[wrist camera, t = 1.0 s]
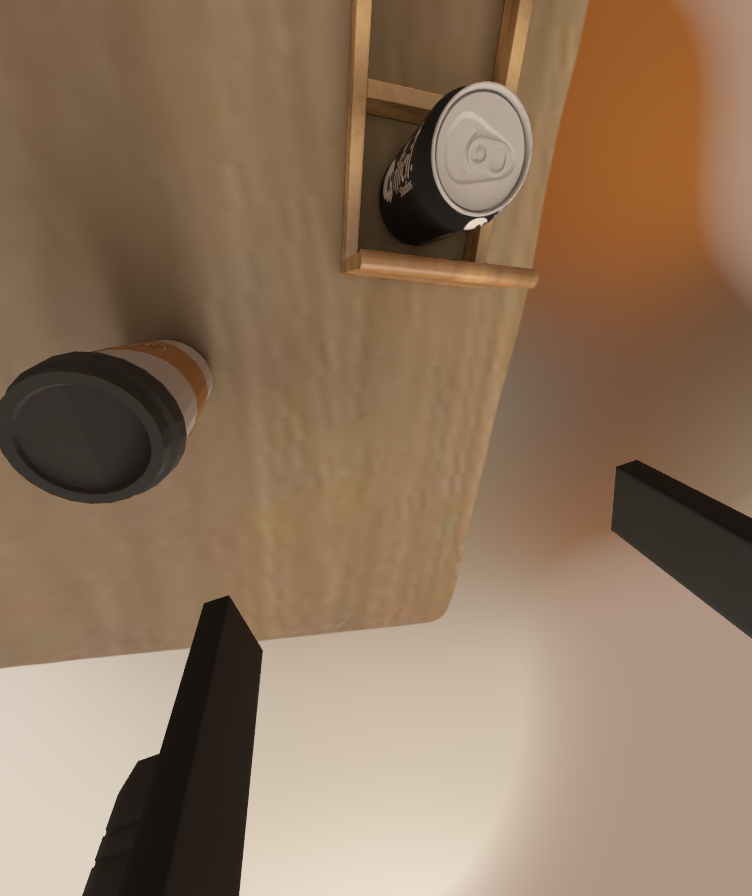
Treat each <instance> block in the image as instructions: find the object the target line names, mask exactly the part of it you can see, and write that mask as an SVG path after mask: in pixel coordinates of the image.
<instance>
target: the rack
mask: <svg viewBox="0 0 752 896" xmlns="http://www.w3.org/2000/svg"><path fill="white" fill-rule="evenodd" d="M533 1H534V0H505V5H504V12H503V18H502V24H501V30H500V36H499V43H498V49H497V55H496V61H495V67H494V73H493V80H492V82H496V83H499V84H502V85H504V86H505V87H507V88H508V89H510V90H511V91H512V92H513V93H514V94H515V95H516V93H517V88H518V82H519V77H520V72H521V66H522V61H523V55H524V50H525V44H526V39H527V34H528V28H529V23H530V17H531V12H532V6H533ZM371 13H372V0H352V24H351V49H350V73H349V97H348V122H347V146H346V171H345V195H344V219H343V244H342V268H341V274H344V275H354V276H363V277H373V278H383V279H393V280H402V281H412V282H422V283H432V284H441V285H451V286H461V287H517V288H526V289H532V288H534V287H535V286H536V284H537V282H538V279H539V272H538V271H537V270H535V269H527V268H519V267H510V266H502V265H494V264H485V262H486V256H487V251H488V245H489V240H490V234H491V229H492V224H493V220H492V221H490V222H489V223H487V224H485V225H483V226H480V227H477V228H474V229H471V230H468V234H467V240H466V246H465V253H464V259H463V261H460V260H452V259H443V258H435V257H427V256H418V255H410V254H402V253H393V252H385V251H377V250H368V249H360V251H359V252H358V243H359V225H360V207H361V190H362V172H363V154H364V137H365V119H366V113H367V114H372V115H377V116H382V117H387V118H391V119H396V120H401V121H406V122H411V123H416V124H421V123H422V122H423V120H424V119H425V118H426V116H427V115H428V114H429V112H430V111H431V110H432V108H433V107H434V106H435V105H436V103H437V102H438V101H439V100H440V99H441V98H443V97H444V96H445V95H441V94H437V93H433V92H428V91H424V90H419V89H415V88H411V87H406V86H402V85H397V84H393V83H388V82H384V81H380V80H375V79H371V78H368V66H369V49H370V31H371Z"/></svg>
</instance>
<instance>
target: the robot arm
mask: <svg viewBox="0 0 752 896" xmlns="http://www.w3.org/2000/svg"><path fill="white" fill-rule="evenodd" d="M611 530H612V531H613V532H615V533H616V534H617V535H619V536H620V537H621V538H623V539H624V540H625V541H626V542H628V543H629V544H630V545H632V546H633V547H634V548H635V549H637V550H638V551H639V552H640V553H642V554H643V555H644V556H646V557H647V558H648V559H650V560H651V561H652V562H654V563H655V564H656V565H657V566H659V567H660V568H661V569H663V570H664V571H665V572H666V573H668V574H669V575H670V576H672V577H673V578H674V579H676V580H677V581H678V582H679V583H681V584H682V585H683V586H684V587H686V588H687V589H689V590H690V591H691V592H692V593H693V594H695V595H696V596H697V597H699V598H700V599H701V600H703V601H704V602H705V603H706V604H708V605H709V606H710V607H712V608H713V609H714V610H715V611H717V612H718V613H719V614H721V615H722V616H724V617H725V618H726V619H727V620H728V621H730V622H731V623H732V624H734V625H735V626H736V627H737V628H739V629H740V630H741V631H743V632H744V633H745V634H747V635H748V636H749V637H750V638H752V518H750V517H748V516H746V515H744V514H742V513H740V512H738V511H736V510H734V509H732V508H731V507H729V506H727V505H725V504H723V503H721V502H719V501H717V500H715V499H713V498H711V497H709V496H707V495H705V494H703V493H701V492H699V491H697V490H695V489H693V488H691V487H689V486H687V485H685V484H683V483H681V482H679V481H677V480H675V479H673V478H671V477H670V476H668V475H666V474H663V473H662V472H660V471H658V470H656V469H654V468H652V467H650V466H648V465H646V464H644V463H642V462H640V461H638V460H635V461H632V462H630V463H626V464H624V465H620V466H617V467H616V477H615V489H614V502H613V514H612V527H611ZM262 652H263V650H262V649H261V647H260V645H259V644H258V642H257V640H256V639H255V637H254V635H253V634H252V632H251V631H250V629H249V627H248V626H247V624H246V622H245V621H244V619H243V617H242V616H241V614H240V612H239V611H238V609H237V608H236V606H235V604H234V603H233V601H232V599H231V598H230V596H229V595H228V596H225V597H222V598H219V599H216V600H213V601H210V602H207V603H204V605H203V609H202V612H201V615H200V619H199V622H198V626H197V629H196V632H195V636H194V639H193V642H192V646H191V649H190V653H189V656H188V659H187V663H186V666H185V669H184V673H183V676H182V680H181V683H180V686H179V690H178V693H177V697H176V700H175V703H174V707H173V710H172V713H171V716H170V720H169V723H168V727H167V730H166V734H165V737H164V740H163V744H162V747H161V750H160V754H157V755H155V756H152V757H149V758H146V759H143V760H141V761H138V762H137V764H136V766H135V767H134V769H133V770H132V772H131V774H130V775H129V777H128V779H127V780H126V782H125V784H124V785H123V787H122V789H121V790H120V792H119V794H118V796H117V799H116V802H115V805H114V808H113V810H112V813H111V816H110V819H109V822H108V824H107V828H106V835H105V836H104V837H103V839H102V842H101V845H100V847H99V850H98V853H97V856H96V858H95V861H96V863H95V866H94V868H92V870H91V873H90V875H89V878H88V881H87V884H86V887H85V890H84V893H83V895H82V896H239V890H240V879H241V869H242V859H243V849H244V838H245V828H246V817H247V807H248V797H249V787H250V776H251V765H252V756H253V745H254V735H255V723H256V713H257V704H258V694H259V683H260V673H261V661H262Z"/></svg>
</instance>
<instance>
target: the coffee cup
mask: <svg viewBox="0 0 752 896" xmlns="http://www.w3.org/2000/svg"><path fill="white" fill-rule="evenodd" d="M212 384H213V382H212V374H211V371H210V369H209V366H208V364H207V363H206V361H205V360H204V359H203V357H202V356H201V355H200V354H199V353H198V352H196V351H195V350H194V349H193V348H191V347H189V346H187V345H186V344H184V343H181V342H177V341H173V340H158V341H145V342H139V343H134V344H128V345H122V346H116V347H111V348H106V349H101V350H97V351H93V352H70V353H66V354H61V355H56V356H52V357H50V358H48V359H47V360H45V361H43V362H41V363H39V364H37V365H35V366H34V367H32V368H30V369H28V370H26V371H24V372H23V373H21V374H20V375H19V376H18V377H17V378H16V379H15V381H14V382H13V383H12V384H11V385H10V386H9V387H8V389H7V391H6V394H5V395H4V396H3V398H2V399H1V400H0V448H1V451H2V453H3V454H4V456H5V457H6V458H7V460H8V461H9V462H10V464H11V465H12V466H13V468H14V469H15V470H16V471H17V472H19V473H20V474H21V475H22V476H23V477H24V478H26V479H27V480H28V481H29V482H30V483H32V484H34V485H35V486H37V487H39V488H41V489H42V490H44V491H46V492H48V493H50V494H52V495H55V496H58V497H61V498H64V499H67V500H70V501H77V502H83V503H90V504H95V503H112V502H116V501H120V500H124V499H128V498H130V497H132V496H134V495H138V494H141V493H143V492H145V491H147V490H149V489H151V488H152V487H154V486H156V485H157V484H158V483H159V482H160V481H162V480H163V479H164V478H165V477H166V476H167V475H168V474H169V473H170V472H171V471H172V470H173V469H174V468H175V467H176V466H177V465H178V463H179V461H180V459H181V457H182V455H183V453H184V451H185V445H186V440H187V438H188V437H189V436H190V434H191V432H192V431H193V429H194V427H195V425H196V423H197V421H198V419H199V417H200V415H201V413H202V411H203V409H204V407H205V405H206V402H207V399H208V397H209V395H210V393H211V390H212Z"/></svg>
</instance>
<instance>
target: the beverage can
mask: <svg viewBox="0 0 752 896" xmlns="http://www.w3.org/2000/svg"><path fill="white" fill-rule="evenodd" d="M531 157H532V130H531V125H530V121H529V118H528V115H527V112H526V110H525V108H524V106H523V104H522V102H521V101H520V100H519V98H518V97H517V96H516V95H515V94H514V93H513V92H512V91H511V90H510V89H508V88H507V87H505V86H504V85H502V84H499V83H496V82H491V81H483V82H477V83H474V84H471V85H469V86H463V87H460V88H457V89H455V90H453V91H451V92H449V93H448V94H446V95H445V96H444V97H443V98H441V99H440V100H439V101H438V102H437V103H436V105H435V106H434V107H433V108H432V110H431V111H430V112H429V114H428V115H427V116H426V118H425V119H424V120H423V122H422V123H421V124H420V126H419V127H418V128H417V130H416V131H415V132H414V134H413V135H412V136H411V138H410V139H409V140H408V141H407V143H406V144H405V145H404V147H403V148H402V149H401V151H400V152H399V153H398V155H397V156H396V157H395V159H394V160H393V161H392V163H391V164H390V166H389V167H388V169H387V171H386V173H385V175H384V177H383V180H382V184H381V190H380V205H381V211H382V215H383V218H384V220H385V222H386V224H387V226H388V228H389V229H390V231H391V232H392V233H393V234H394V235H395V236H396V237H397V238H398V239H400V240H401V241H403V242H405V243H407V244H410V245H417V246H419V245H426V244H430V243H433V242H436V241H439V240H442V239H445V238H448V237H450V236H453V235H456V234H459V233H462V232H465V231H468V230H471V229H474V228H477V227H480V226H483V225H485V224H487V223H489V222H490V221H492V220H493V219H495V218H496V217H497V216H498V215H499V214H500V213H501V212H502V211H503V210H504V209H505V208H506V206H507V205H508V204H509V202H510V201H511V200H512V199H513V198H514V197H515V196H516V194H517V193H518V191H519V190H520V188H521V186H522V185H523V183H524V181H525V178H526V176H527V173H528V170H529V167H530V162H531Z"/></svg>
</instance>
